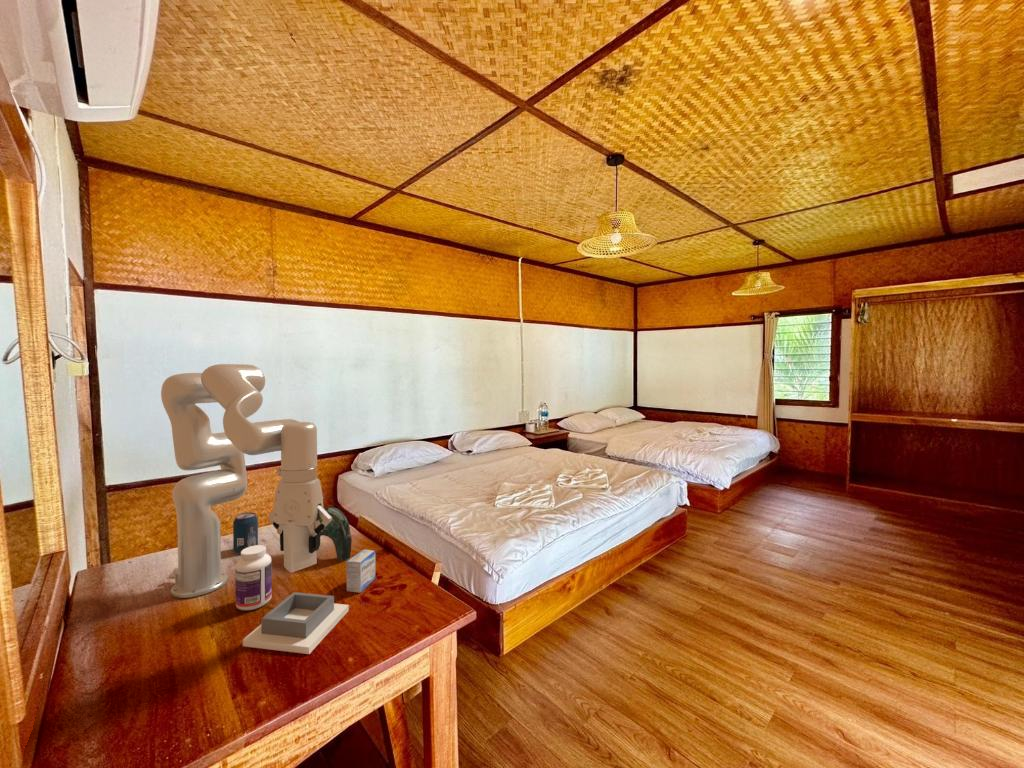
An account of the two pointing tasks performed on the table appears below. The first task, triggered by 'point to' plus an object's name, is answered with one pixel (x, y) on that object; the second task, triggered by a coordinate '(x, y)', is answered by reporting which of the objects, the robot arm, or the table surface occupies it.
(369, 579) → the medicine box
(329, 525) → the spotted teal figurine
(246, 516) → the soda can
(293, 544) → the skincare box
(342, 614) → the socket stand
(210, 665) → the table surface
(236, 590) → the pill bottle
